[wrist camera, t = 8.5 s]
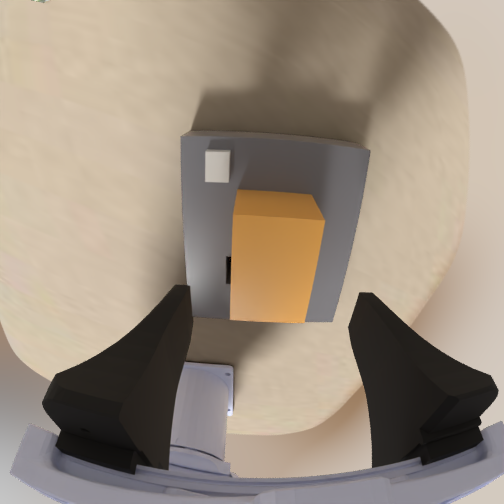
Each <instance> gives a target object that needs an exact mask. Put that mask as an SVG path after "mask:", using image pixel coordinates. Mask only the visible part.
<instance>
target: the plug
mask: <svg viewBox="0 0 504 504" xmlns="http://www.w3.org/2000/svg"><path fill="white" fill-rule="evenodd" d="M324 225H325V219H324V217H323V215H322V213H321V212H320V210H319V208H318V206H317V204H316V202H315V200H314V198H313V196H312V195H311V194H299V193H287V192H273V191H258V190H241V189H237V194H236V200H235V205H234V211H233V226H232V257H231V294H230V320H238V321H257V322H282V323H304V322H305V318H306V314H307V309H308V305H309V300H310V296H311V291H312V286H313V282H314V277H315V272H316V267H317V262H318V257H319V252H320V246H321V241H322V236H323V230H324Z"/></svg>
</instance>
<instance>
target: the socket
mask: <svg viewBox="0 0 504 504" xmlns="http://www.w3.org/2000/svg"><path fill="white" fill-rule="evenodd" d="M370 151H371V150H369V149H367V148H365V147H363V146H362V145H360V144H358V143H355V142H349V141H342V140H334V139H326V138H318V137H309V136H299V135H289V134H276V133H262V132H242V131H189V132H187V133H186V134H184V135H182V136H181V185H182V213H183V233H184V249H185V264H186V277H187V285H188V286H190V292H191V304H192V315H193V317H203V318H218V319H230V294H231V263H229V257H232V226H233V211H234V205H235V200H236V194H237V189H241V190H258V191H273V192H287V193H299V194H311V195H312V196H313V198H314V200H315V202H316V204H317V206H318V208H319V210H320V212H321V213H322V215H323V217H324V219H325V225H324V230H323V236H322V241H321V246H320V252H319V257H318V262H317V267H316V272H315V277H314V282H313V286H312V291H311V296H310V300H309V305H308V309H307V314H306V318H305V322H332V321H333V318H334V314H335V311H336V308H337V304H338V300H339V297H340V293H341V289H342V286H343V282H344V278H345V274H346V270H347V266H348V262H349V258H350V254H351V250H352V245H353V241H354V236H355V232H356V227H357V223H358V218H359V213H360V208H361V203H362V198H363V192H364V187H365V181H366V176H367V170H368V164H369V157H370Z"/></svg>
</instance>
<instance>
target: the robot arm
mask: <svg viewBox="0 0 504 504" xmlns="http://www.w3.org/2000/svg"><path fill="white" fill-rule="evenodd" d="M192 327H193V315H192V304H191V292H190V286H188V285H175V286H174V287H173V288H172V289H171V290H170V291H169V292H168V294H167V295H166V296H165V297H164V298H163V299H162V300H161V302H160V303H159V304H158V305H157V306H156V307H155V308H154V309H153V310H152V311H151V312H150V313H149V314H148V315H147V316H146V317H145V318H144V319H143V320H142V321H141V322H140V323H139V324H138V325H137V326H136V327H135V328H134V329H132V330H131V331H130V332H129V333H128V334H127V335H125V336H124V337H123V338H122V339H120V340H119V341H118V342H116V343H115V344H113V345H112V346H110V347H109V348H107V349H106V350H104V351H103V352H101V353H99V354H98V355H96V356H94V357H92V358H91V359H89V360H87V361H85V362H83V363H81V364H79V365H77V366H74V367H72V368H70V369H67V370H65V371H62V372H60V373H57V374H56V375H55V377H54V378H53V380H52V382H51V384H50V386H49V388H48V391H47V393H46V395H45V397H44V399H43V401H42V405H43V408H44V410H45V411H46V413H47V414H48V415H49V416H50V418H51V419H52V420H53V421H54V422H55V423H56V425H57V426H58V427H59V428H60V429H61V432H60V434H59V436H57V435H56V434H54V433H53V432H51V431H48V430H46V429H43V428H41V427H39V426H36V425H34V424H32V423H29V424H28V427H27V429H26V431H25V434H24V436H23V439H22V441H21V444H20V446H19V449H18V451H17V454H16V457H15V459H14V462H13V465H12V467H11V470H10V474H11V475H12V476H14V477H15V478H17V479H18V480H20V481H22V482H23V483H25V484H26V485H28V486H29V487H31V488H33V489H34V490H36V491H38V492H39V493H41V494H43V495H45V496H47V497H49V498H51V499H53V500H55V501H57V502H60V503H62V504H450V503H452V502H454V501H457V500H459V499H461V498H463V497H465V496H467V495H469V494H471V493H473V492H475V491H477V490H479V489H481V488H482V487H484V486H486V485H488V484H489V483H491V482H492V481H494V480H495V479H497V478H498V477H500V476H501V475H503V474H504V424H503V422H502V421H500V422H498V423H495V424H493V425H491V426H488V427H486V428H485V429H483V430H482V431H480V429H479V427H478V426H479V425H481V419H480V416H481V414H483V412H484V411H485V410H486V409H487V408H488V407H489V406H490V405H491V404H492V402H494V400H495V399H496V397H497V395H498V388H497V386H496V384H495V382H494V381H493V379H492V377H491V375H488V374H486V373H483V372H481V371H478V370H475V369H473V368H471V367H468V366H467V365H465V364H462V363H460V362H458V361H457V360H455V359H453V358H451V357H450V356H448V355H446V354H445V353H443V352H441V351H440V350H438V349H437V348H435V347H434V346H432V345H431V344H430V343H428V342H427V341H426V340H424V339H423V338H422V337H421V336H419V335H418V334H417V333H416V332H415V331H413V330H412V329H411V328H410V327H409V326H408V325H407V324H405V323H404V322H403V321H402V320H401V319H400V318H399V317H398V316H397V315H396V314H395V313H394V312H393V311H392V310H390V309H389V308H388V307H387V306H386V305H385V304H384V303H383V302H382V301H381V300H380V299H379V298H378V297H377V296H376V295H374V294H373V293H366V292H359V296H358V299H357V302H356V305H355V308H354V311H353V314H352V317H351V320H350V323H349V326H348V329H349V335H350V341H351V346H352V349H353V353H354V356H355V359H356V362H357V366H358V369H359V372H360V375H361V378H362V382H363V385H364V389H365V393H366V398H367V404H368V410H369V418H370V427H371V440H372V468H370V469H364V470H359V471H353V472H346V473H338V474H330V475H320V476H309V477H293V478H239V477H238V476H237V475H236V473H233V472H230V463H228V462H224V458H225V441H226V427H227V416H231V415H233V367H232V366H229V365H217V364H204V363H192V362H185V359H186V355H187V352H188V348H189V345H190V340H191V334H192Z"/></svg>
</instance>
